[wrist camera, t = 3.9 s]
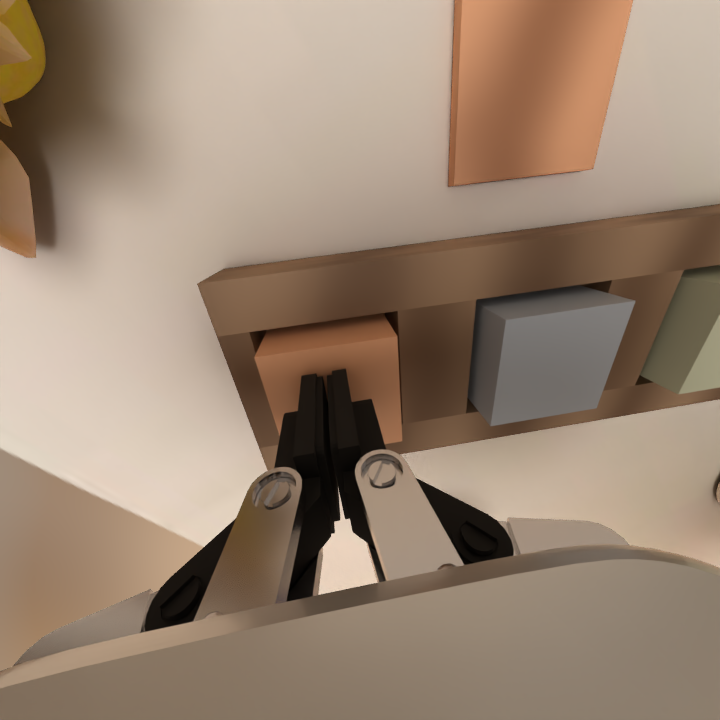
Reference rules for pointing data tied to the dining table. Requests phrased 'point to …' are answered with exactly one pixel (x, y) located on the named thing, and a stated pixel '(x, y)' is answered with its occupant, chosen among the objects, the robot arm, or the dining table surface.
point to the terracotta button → (335, 365)
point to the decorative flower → (3, 84)
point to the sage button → (689, 336)
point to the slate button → (544, 352)
